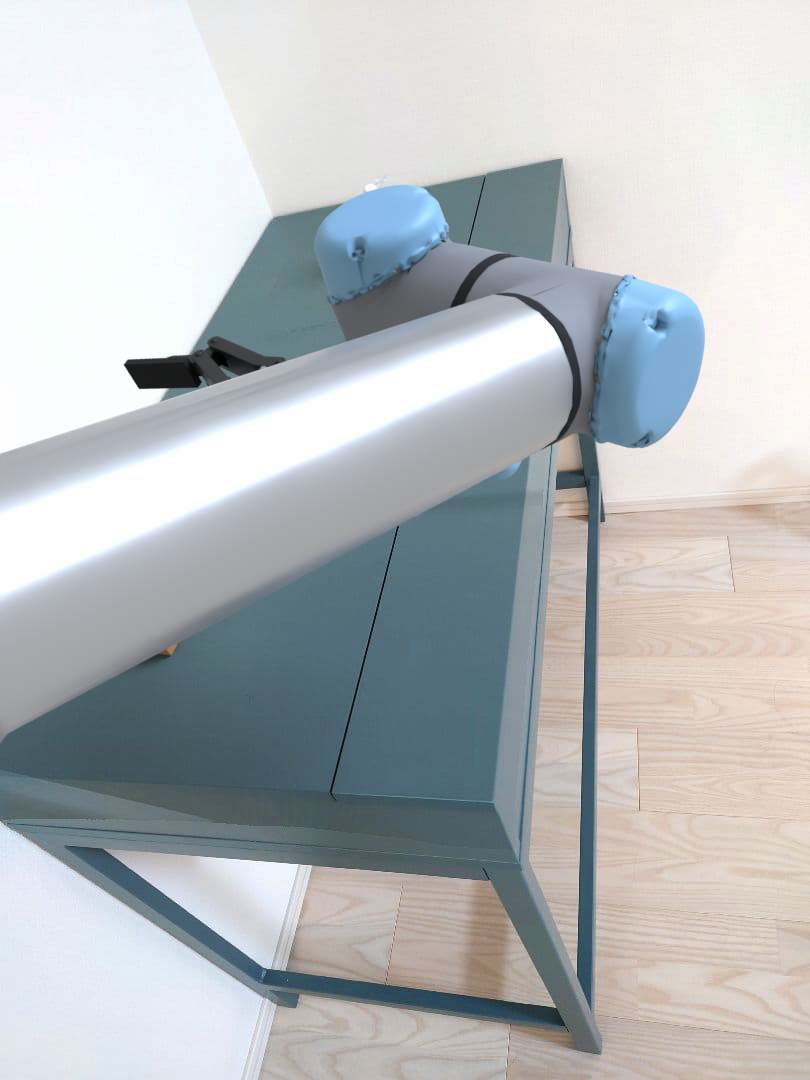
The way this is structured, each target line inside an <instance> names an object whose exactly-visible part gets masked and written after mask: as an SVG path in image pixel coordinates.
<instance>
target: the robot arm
mask: <svg viewBox="0 0 810 1080" xmlns="http://www.w3.org/2000/svg"><path fill="white" fill-rule="evenodd" d="M449 232H450V226H449V223H448V222H447V220H446V218H445V216H444V213H443V211H442V208H441V206H440V202H439V201H438V200H437V199H436V198H435V197H434V196H433V195H432V194H431V193H429V192H428V190H427V189H425V188H423V187H421V186H417V185H413V184H412V185H411V184H392V185H386V186H380V187H378V189H374V190H371V191H368V192H365V193H364V192H362V193H359V194H358V195H356V196H353V197H352V198H350V199H348V200H346V201H345V202H343V203H342V204H341V205H339V206H338V207H337V208H336V209H334V210H333V211H331V212H330V213H329V214H328V215H327V216H326V217H325V218H324V219H323V221H322V222H321V224H320V225H319V227H318V228H317V231H316V233H315V237H314V254H315V256H316V259H317V262H318V266H319V268H320V269H319V270H320V272H321V275H322V278H323V281H324V285H325V287H326V290H327V293H326V299H327V302H328V303H329V305H331V307H332V310H333V312H334V314H335V317H336V320H337V322H338V324H339V326H340V327H339V328H340V330H341V332H342V334H343V336H344V339H345V341H344V342H342V343H338V344H335V345H332V346H329V347H326V348H322V349H320V350H317V351H314V352H311V353H310V352H309V353H307V354H305V355H301V356H298V357H295V358H292V359H289V360H286V357H284V356H269V355H268V356H267V355H266V356H265V355H263V354H261V353H258V352H257V351H253V350H251V349H249V348H247V347H244V346H242V345H240V344H237V343H235V342H232V341H230V340H228V339H226V338H224V337H221V336H218V335H217V336H212V337H211V338H209V339H208V340H207V342H206V344H207V348H205V349H198V350H197V349H196V351H193V353H191V354H178V355H177V354H175V355H169V356H166V357H153V358H151V357H150V358H128V359H127V360H126V361H125V362H124V363H123V367H124V368H125V370H126V371H127V373H128V374H129V376H130V377H131V379H132V380H133V382H134V384H135V385H136V387H137V389H138V390H162V389H163V390H164V389H165V390H166V389H167V390H168V389H196V390H193V391H190V392H186V393H183V394H180V395H177V396H174V397H171V398H167V399H164V400H162V401H159V402H155V403H153V404H149V405H145V406H143V407H140V408H137V409H133V410H130V411H128V412H125V413H122V414H118V415H116V416H115V415H114V416H112V417H109V418H106V419H103V420H100V421H96V422H93V423H91V424H87V425H84V426H81V427H78V428H75V429H71V430H69V431H65V432H62V433H60V434H57V435H53V436H50V437H47V438H44V439H41V440H38V441H35V442H32V443H28V444H25V445H21V446H19V447H16V448H13V449H10V450H6V451H3V452H0V744H1V743H2V742H3V741H4V739H5V738H6V736H7V735H8V734H10V733H11V732H13V731H16V730H17V729H19V728H21V727H23V726H24V725H26V724H29V723H30V722H32V721H34V720H36V719H38V718H39V717H42V716H43V715H45V714H47V713H49V712H51V711H53V710H54V709H57V708H59V707H60V706H62V705H64V704H66V703H69V702H70V701H71V700H74V699H76V698H77V697H79V696H81V695H84V694H85V693H87V692H89V691H90V690H92V689H95V688H96V687H98V686H100V685H102V684H104V683H105V682H107V681H110V680H111V679H113V678H115V677H117V676H119V675H121V674H123V673H124V672H126V671H129V670H130V669H132V668H134V667H135V666H138V665H139V664H142V663H143V662H145V661H147V660H149V659H151V658H153V657H155V656H156V655H159V654H158V653H160V652H162V651H164V650H166V649H168V648H169V647H171V646H173V645H175V644H177V643H178V644H180V642H181V643H182V641H185V640H186V639H188V638H190V637H192V636H194V635H196V634H198V633H200V632H202V631H204V630H205V629H208V628H209V627H211V626H212V625H215V624H217V623H218V622H220V621H223V620H225V619H226V618H228V617H230V616H231V615H234V614H235V613H237V612H239V611H241V610H243V609H245V608H246V607H249V606H250V605H253V604H254V603H256V602H257V601H259V600H262V599H264V598H265V597H267V596H269V595H271V594H273V593H275V592H276V591H278V590H281V589H282V588H284V587H287V586H288V585H290V584H292V583H293V582H295V581H297V580H299V579H301V578H303V577H305V576H307V575H309V574H310V573H313V572H314V571H317V570H318V569H320V568H322V567H324V566H325V565H328V564H329V563H331V562H334V561H335V560H337V559H339V558H341V557H343V556H345V555H347V554H348V553H350V552H352V551H354V550H356V549H357V548H360V547H361V546H363V545H365V544H367V543H369V542H371V541H373V540H374V539H376V538H378V537H380V536H382V535H384V534H385V533H388V532H390V531H392V530H393V529H395V528H397V527H398V526H401V525H403V524H405V523H407V522H409V521H410V520H412V519H414V518H416V517H418V516H419V515H422V514H424V513H425V512H427V511H430V510H431V509H433V508H435V507H437V506H438V505H441V504H443V503H444V502H446V501H448V500H450V499H451V498H453V497H455V496H457V495H459V494H461V493H463V492H465V491H467V490H469V489H471V488H472V487H474V486H476V485H478V484H480V483H487V482H501V481H504V480H507V479H509V478H511V477H512V476H513V475H514V474H515V473H516V472H517V471H518V469H519V468H520V466H521V464H522V461H523V460H525V459H527V458H529V457H531V456H533V455H534V454H536V453H538V452H540V451H543V450H544V449H546V448H548V447H550V446H552V445H555V444H557V443H558V442H561V441H563V440H564V439H566V438H569V437H570V436H572V435H574V434H576V435H577V434H580V435H581V434H582V435H586V436H588V437H590V438H592V440H593V441H594V442H596V443H598V444H601V445H602V444H607V443H609V444H613V445H616V446H620V447H622V448H627V449H645V448H647V447H650V446H653V445H654V444H656V443H657V442H659V441H661V440H662V439H663V438H664V437H665V436H666V435H667V434H668V433H670V431H671V430H672V429H673V427H674V426H676V424H677V423H678V422H679V420H680V419H681V417H682V416H683V414H684V412H685V410H686V408H687V407H688V404H689V403H690V401H691V399H692V396H693V393H694V392H695V389H696V387H697V384H698V380H699V377H700V373H701V370H702V369H701V367H702V366H703V365H702V364H703V358H704V353H705V347H706V346H705V344H706V330H705V324H704V319H703V315H702V313H701V311H700V309H699V307H698V305H697V303H696V302H695V301H694V300H693V299H692V298H691V297H690V296H689V295H687V294H686V293H684V292H682V291H679V290H676V289H673V288H670V287H666V286H662V285H660V284H656V283H652V282H650V281H646V280H643V279H639V278H638V277H637V276H635V275H634V274H629V273H627V274H625V275H618V274H614V273H609V272H604V271H598V270H593V269H587V268H581V267H576V266H570V265H566V264H561V263H556V262H550V261H544V260H539V259H534V258H530V257H529V258H528V257H523V256H520V255H514V254H511V253H508V252H502V251H498V250H493V249H489V248H484V247H478V246H474V245H470V244H464V243H460V242H459V243H458V242H453V241H452V240H451V239H450V233H449ZM223 369H224V370H226V371H227V372H230V373H232V374H234V375H237V376H236V377H233V378H232V377H231V376H228V375H227V374H226V373H225V372H224V371H223ZM201 377H202V379H203V380H204V382H205V384H206V385H207V386H205V387H202V388H199V387H200V386H201V385H202V383H203V381H202V379H201Z"/></svg>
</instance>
